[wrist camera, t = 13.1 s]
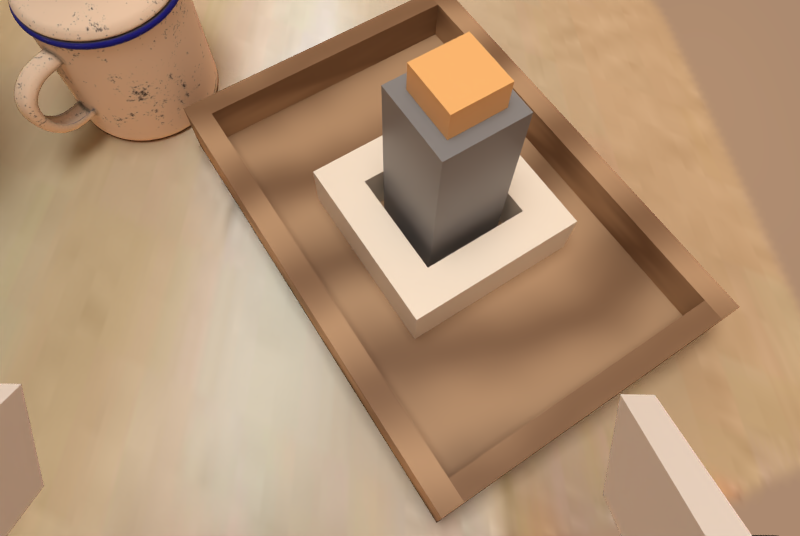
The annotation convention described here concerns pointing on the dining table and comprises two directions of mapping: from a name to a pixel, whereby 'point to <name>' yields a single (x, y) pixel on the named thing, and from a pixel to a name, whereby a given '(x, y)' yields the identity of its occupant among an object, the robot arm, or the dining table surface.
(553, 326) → the brown wooden tray
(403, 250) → the socket
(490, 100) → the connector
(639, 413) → the robot arm
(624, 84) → the dining table surface
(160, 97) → the teacup with lid
